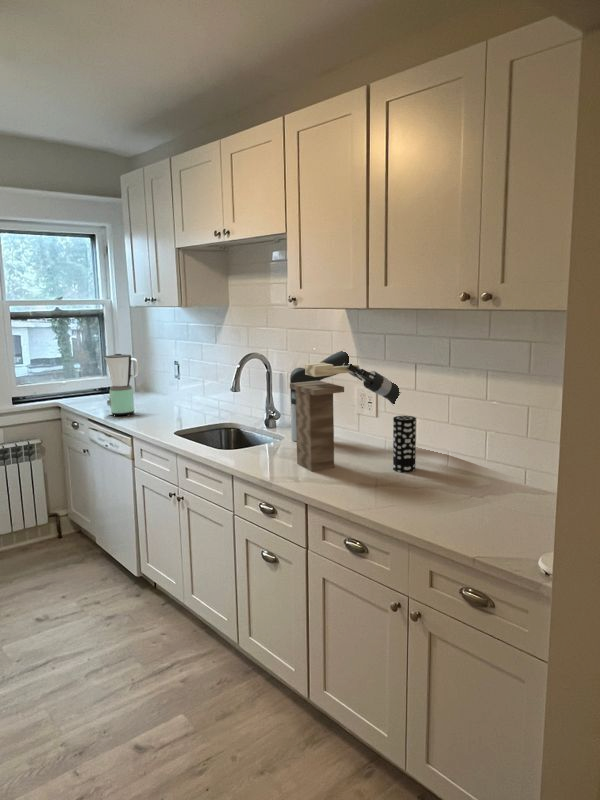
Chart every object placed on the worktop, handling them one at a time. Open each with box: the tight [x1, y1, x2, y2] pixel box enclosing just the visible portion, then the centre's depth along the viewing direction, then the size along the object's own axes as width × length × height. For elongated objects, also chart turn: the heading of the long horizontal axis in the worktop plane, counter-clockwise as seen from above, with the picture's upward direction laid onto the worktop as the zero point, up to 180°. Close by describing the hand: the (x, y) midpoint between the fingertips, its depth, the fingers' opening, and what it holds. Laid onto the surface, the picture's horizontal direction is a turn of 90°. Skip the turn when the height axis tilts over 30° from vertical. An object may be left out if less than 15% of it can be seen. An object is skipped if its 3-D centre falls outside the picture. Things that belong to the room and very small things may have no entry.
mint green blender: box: [103, 353, 139, 416], centre depth 343 cm, size 19×13×35 cm
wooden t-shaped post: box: [289, 380, 345, 472], centre depth 233 cm, size 20×13×32 cm, turn 27°
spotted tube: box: [392, 415, 417, 473], centre depth 226 cm, size 8×8×20 cm
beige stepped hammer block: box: [304, 362, 360, 377], centre depth 232 cm, size 8×21×4 cm, turn 117°
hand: (346, 365), depth 235 cm, fingers closed on beige stepped hammer block, 3 cm apart
